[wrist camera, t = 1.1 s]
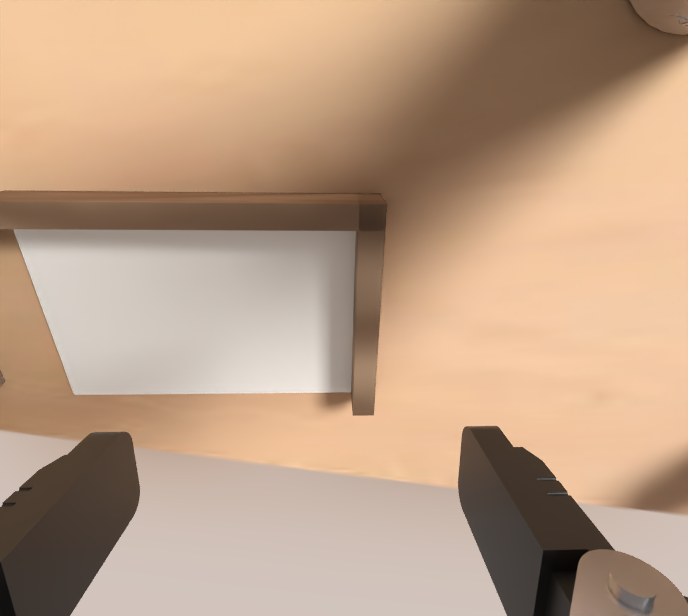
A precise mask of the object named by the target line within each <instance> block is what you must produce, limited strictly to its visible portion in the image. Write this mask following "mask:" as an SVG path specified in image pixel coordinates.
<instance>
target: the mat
mask: <svg viewBox="0 0 688 616" xmlns="http://www.w3.org/2000/svg"><path fill="white" fill-rule="evenodd" d="M13 230H14V233H15V236H16V239H17V241H18V244H19V247H20V250H21V252H22V255H23V258H24V260H25V263H26V266H27V269H28V271H29V274H30V277H31V279H32V282H33V285H34V288H35V290H36V293H37V296H38V298H39V301H40V304H41V307H42V309H43V312H44V315H45V318H46V320H47V323H48V326H49V328H50V331H51V334H52V337H53V339H54V342H55V345H56V347H57V350H58V353H59V356H60V358H61V361H62V364H63V366H64V369H65V372H66V375H67V377H68V380H69V383H70V385H71V388H72V391H73V394H74V395H130V394H232V393H334V392H351V378H352V342H353V307H354V271H355V235H356V231H263V230H59V229H13Z"/></svg>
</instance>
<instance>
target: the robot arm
mask: <svg viewBox="0 0 688 616" xmlns="http://www.w3.org/2000/svg"><path fill="white" fill-rule="evenodd" d="M630 2H631V4H632V6H633V7H634V9H635V11H636V12H637V14H638V15H639V16H640V17H641V18H643V19H644V20H645V21H646V22H647V23H648V24H649V25H650V26H653V27H655V28H657V29H659V30H661V31H663V32H666V33H672V34H678V35H685V34H688V0H630ZM458 489H459V497H460V502H461V506H462V509H463V512H464V514H465V517H466V519H467V521H468V524H469V526H470V528H471V531H472V533H473V536H474V538H475V540H476V543H477V545H478V547H479V550H480V552H481V554H482V557H483V559H484V562H485V564H486V566H487V569H488V571H489V573H490V576H491V578H492V581H493V583H494V585H495V588H496V590H497V593H498V595H499V597H500V600H501V602H502V604H503V607H504V609H505V611H506V614H507V616H688V597H685V596H683V595H682V593H681V592H680V591H679V590H678V588H677V587H676V586H675V585H674V584H673V583H672V582H671V581H670V580H669V579H668V578H667V577H666V576H664V575H663V574H662V573H661V572H659V571H658V570H656V569H655V568H653V567H652V566H651V565H649V564H647V563H645V562H643V561H642V560H640V559H637V558H635V557H633V556H631V555H628V554H625V553H622V552H618V551H615V550H614V549H613V548H612V546H611V545H610V544H609V542H608V541H607V540H606V539H605V537H604V536H603V535H602V534H601V533H600V531H599V530H598V529H597V528H596V527H595V525H594V524H593V523H592V521H591V520H590V519H589V518H588V517H587V515H586V514H585V513H584V512H583V510H582V509H581V508H580V507H579V505H578V504H577V503H576V502H575V500H574V499H573V498H572V497H571V496H570V495H569V496H568V494H567V491H566V489H565V488H564V487H563V486H562V484H561V483H560V482H559V481H556V477H555V476H554V475H553V473H552V472H551V471H550V470H549V468H548V467H547V466H546V465H545V464H544V462H543V461H542V460H540V459H539V458H537V457H536V456H535V455H533V454H532V453H530V452H529V451H527V450H526V449H524V448H523V447H513V446H512V444H511V443H510V442H509V440H508V439H507V438H506V436H505V435H504V434H503V432H502V431H501V430H500V428H499V427H497V426H467V427H465V428H464V429H463V433H462V442H461V454H460V466H459V479H458ZM139 496H140V486H139V480H138V473H137V467H136V461H135V455H134V448H133V442H132V438H131V436H130V434H129V433H127V432H94V433H91V434H89V435H88V436H87V437H86V438H85V439H83V440H82V441H81V442H80V443H79V444H78V445H77V446H76V447H75V448H74V449H73V450H72V451H71V452H70V453H69V454H68V455H64V456H62V457H60V458H59V459H57V460H55V461H54V462H52V463H50V464H49V465H47V466H45V467H43V468H42V469H40V470H38V471H37V472H36V473H35V474H34V475H33V476H32V477H31V478H30V479H29V480H27V481H26V482H25V483H24V484H23V485H22V486H21V487H20V488H19V491H15V492H14V493H13V494H12V495H11V496H10V497H9V498H8V499H6V500H5V501H4V502H3V505H2V507H0V616H70V615H71V613H72V612H73V610H74V609H75V607H76V605H77V604H78V602H79V601H80V599H81V598H82V596H83V594H84V593H85V591H86V590H87V588H88V587H89V585H90V583H91V582H92V580H93V579H94V577H95V576H96V574H97V573H98V571H99V569H100V568H101V566H102V565H103V563H104V562H105V560H106V558H107V557H108V555H109V554H110V552H111V551H112V549H113V547H114V546H115V544H116V543H117V541H118V540H119V538H120V537H121V535H122V533H123V532H124V530H125V529H126V527H127V526H128V524H129V522H130V521H131V519H132V518H133V516H134V514H135V512H136V509H137V506H138V502H139Z"/></svg>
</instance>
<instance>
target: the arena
mask: <svg viewBox="0 0 688 616" xmlns="http://www.w3.org/2000/svg"><path fill="white" fill-rule="evenodd" d="M386 210H387V204H386V202H385V200H384V199H383V197H382V195H381V194H347V193H226V192H106V191H1V192H0V229H59V230H263V231H356V235H355V271H354V307H353V342H352V378H351V398H352V411H353V416H354V415H374V403H375V387H376V371H377V354H378V338H379V322H380V306H381V290H382V274H383V258H384V242H385V226H386Z"/></svg>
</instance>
